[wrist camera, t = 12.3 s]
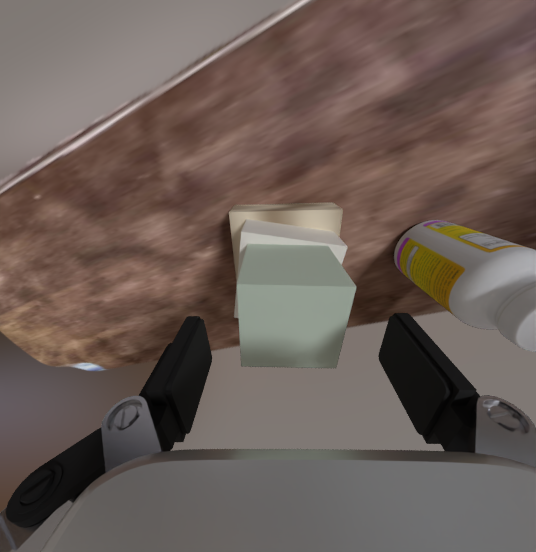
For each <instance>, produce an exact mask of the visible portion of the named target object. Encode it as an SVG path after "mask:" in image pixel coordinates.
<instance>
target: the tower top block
mask: <svg viewBox="0 0 536 552" xmlns="http://www.w3.org/2000/svg"><path fill="white" fill-rule="evenodd" d="M248 244H278V245H322V246H329V248H330V249H331V251H332V252H333V254H334V255H335V257H336V258H337V259H338V261H339V262H340V264H341V265H342V262H343V259H344V256H345V253H346V250H347V247H348V246H347V245H346V244H345V243H344V242H343V241H342V240H341V239H340V238H339V237H338V236H337V234H336V233H335V232H334V231H327V230H320V229H313V228H306V227H300V226H293V225H286V224H279V223H272V222H265V221H258V220H251V219H246V222H245V224H244V226H243V229H242V231H241V241H240V252H239V264H238V276H237V281H238V278H239V274H240V270H241V267H242V263H243V259H244V256H245V252H246V248H247V245H248ZM234 318H239V316H238V298H237V288H236V299H235V311H234Z"/></svg>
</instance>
